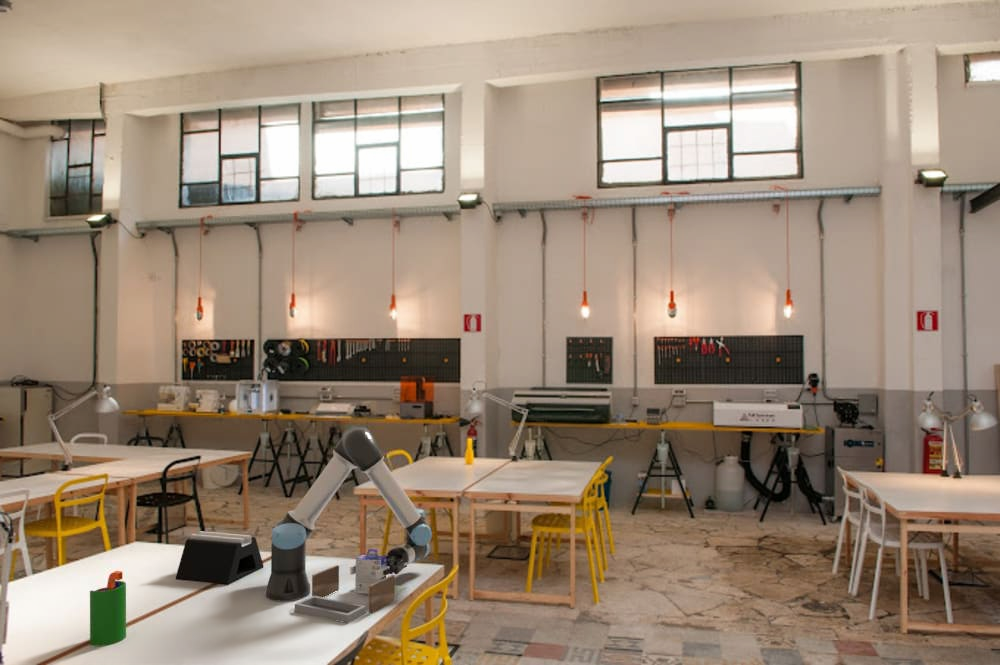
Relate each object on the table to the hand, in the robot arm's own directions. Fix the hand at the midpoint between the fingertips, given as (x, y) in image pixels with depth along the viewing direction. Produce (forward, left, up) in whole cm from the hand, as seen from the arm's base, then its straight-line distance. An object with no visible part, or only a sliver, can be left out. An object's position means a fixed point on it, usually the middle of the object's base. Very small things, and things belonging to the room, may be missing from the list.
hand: (363, 572), depth 259 cm
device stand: (-65, -3, -9) cm, 66 cm away
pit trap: (-1, -17, -9) cm, 19 cm away
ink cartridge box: (0, +4, -8) cm, 9 cm away
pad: (-1, +10, -9) cm, 13 cm away
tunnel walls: (-1, -5, -9) cm, 10 cm away
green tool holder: (-45, -64, -9) cm, 79 cm away
